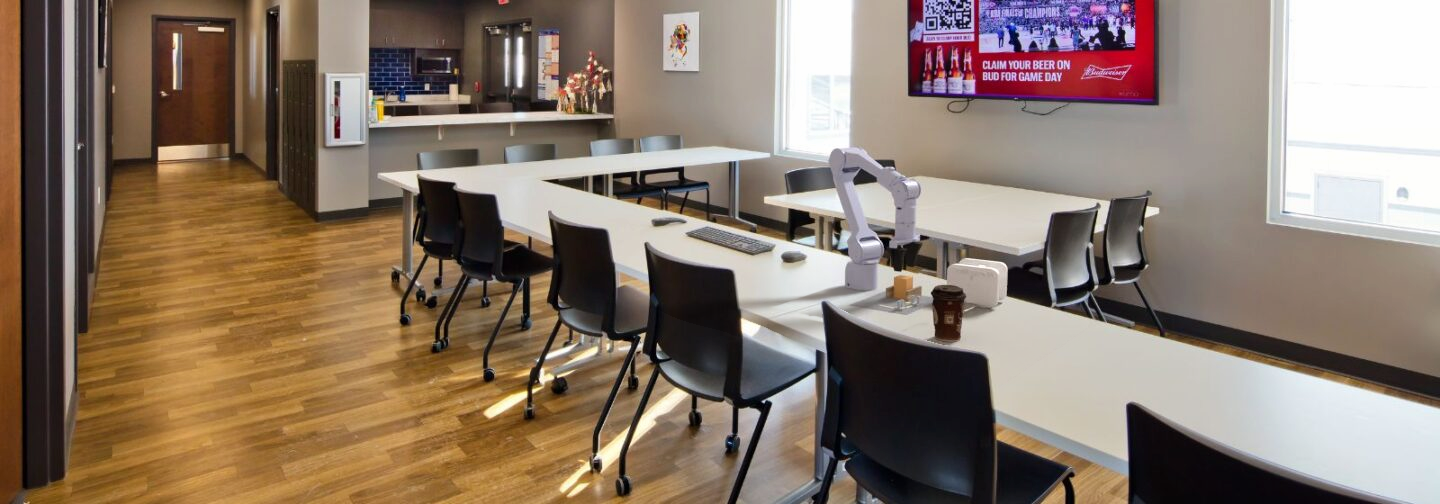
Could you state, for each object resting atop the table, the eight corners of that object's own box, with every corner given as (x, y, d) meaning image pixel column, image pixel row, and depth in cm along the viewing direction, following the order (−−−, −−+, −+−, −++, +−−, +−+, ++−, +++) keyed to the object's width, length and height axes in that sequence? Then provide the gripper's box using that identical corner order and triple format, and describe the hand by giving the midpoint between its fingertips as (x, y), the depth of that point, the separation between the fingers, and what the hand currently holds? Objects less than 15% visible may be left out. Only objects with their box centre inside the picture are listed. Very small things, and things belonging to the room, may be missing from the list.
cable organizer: (1009, 302, 265) (1011, 262, 262) (995, 310, 257) (997, 269, 254) (959, 295, 274) (960, 257, 271) (944, 303, 266) (945, 263, 263)
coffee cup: (924, 340, 229) (926, 289, 227) (933, 332, 236) (935, 282, 234) (960, 344, 225) (962, 292, 223) (968, 336, 232) (970, 285, 230)
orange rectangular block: (893, 297, 268) (893, 277, 267) (900, 294, 271) (900, 274, 270) (906, 299, 266) (906, 279, 265) (912, 296, 269) (913, 276, 268)
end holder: (885, 298, 268) (885, 288, 267) (899, 292, 274) (899, 283, 273) (908, 301, 263) (908, 291, 263) (921, 296, 269) (921, 286, 269)
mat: (848, 308, 261) (849, 296, 260) (887, 293, 278) (887, 281, 277) (906, 318, 250) (906, 305, 249) (943, 302, 266) (943, 289, 266)
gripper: (905, 227, 256) (904, 275, 259) (930, 220, 267) (928, 266, 270) (883, 224, 261) (882, 271, 263) (907, 218, 272) (906, 263, 274)
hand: (904, 268), depth 267 cm, fingers open, 7 cm apart
